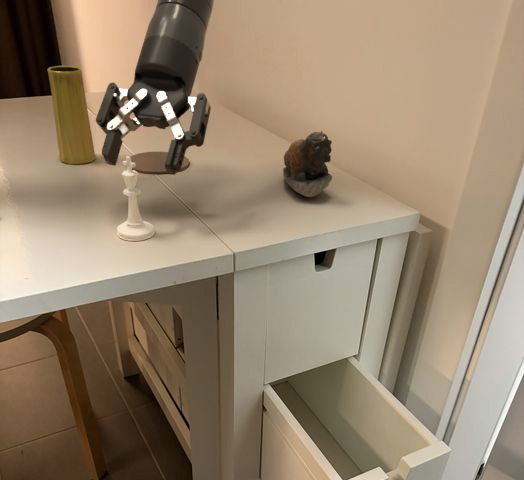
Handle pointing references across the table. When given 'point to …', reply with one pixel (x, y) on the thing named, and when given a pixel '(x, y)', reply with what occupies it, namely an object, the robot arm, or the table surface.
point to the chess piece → (133, 209)
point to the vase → (71, 115)
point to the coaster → (153, 162)
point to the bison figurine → (308, 164)
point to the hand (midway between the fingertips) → (139, 167)
